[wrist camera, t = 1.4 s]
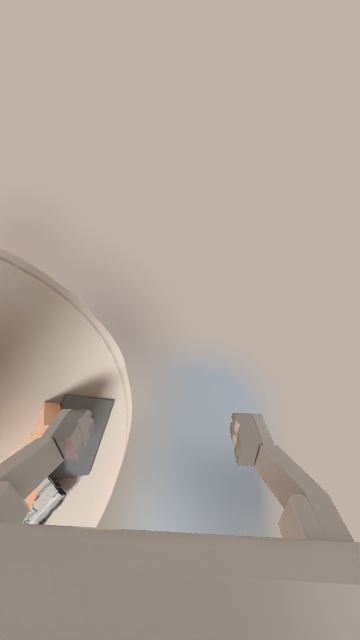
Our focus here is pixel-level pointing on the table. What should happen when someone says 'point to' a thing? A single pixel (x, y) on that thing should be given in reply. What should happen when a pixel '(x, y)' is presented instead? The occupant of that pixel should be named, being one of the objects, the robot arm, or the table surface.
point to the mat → (100, 416)
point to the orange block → (40, 426)
